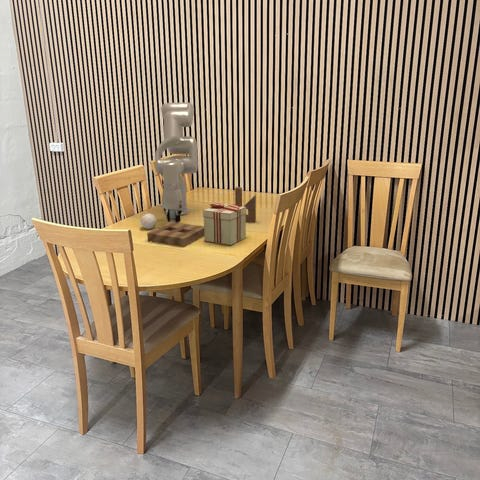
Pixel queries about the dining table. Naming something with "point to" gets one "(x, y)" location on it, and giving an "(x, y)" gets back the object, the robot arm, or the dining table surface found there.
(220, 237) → the gift box
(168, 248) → the dining table surface
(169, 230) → the board
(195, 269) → the dining table surface
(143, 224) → the geometric ball
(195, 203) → the dining table surface
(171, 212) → the peg
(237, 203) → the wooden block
